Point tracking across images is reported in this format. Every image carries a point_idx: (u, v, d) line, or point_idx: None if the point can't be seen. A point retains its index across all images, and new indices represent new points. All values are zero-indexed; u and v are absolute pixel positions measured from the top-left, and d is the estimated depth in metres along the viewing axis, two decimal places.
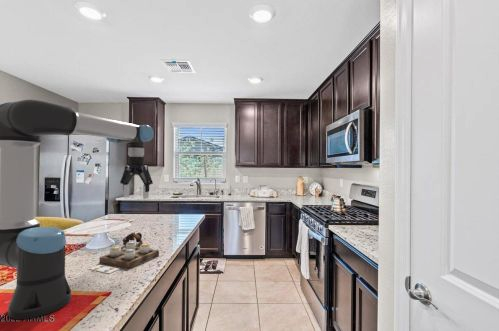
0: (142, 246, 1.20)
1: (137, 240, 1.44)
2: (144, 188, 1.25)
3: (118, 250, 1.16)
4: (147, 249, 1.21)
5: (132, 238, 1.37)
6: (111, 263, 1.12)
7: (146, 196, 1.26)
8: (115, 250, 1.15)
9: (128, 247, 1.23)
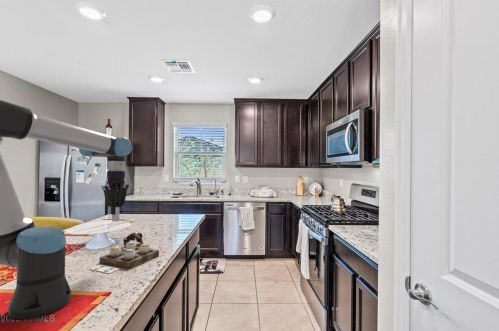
0: (142, 246, 1.20)
1: (138, 240, 1.44)
2: None
3: (118, 250, 1.16)
4: (147, 249, 1.21)
5: (133, 238, 1.37)
6: (111, 263, 1.12)
7: (114, 219, 1.17)
8: (115, 250, 1.15)
9: (128, 247, 1.23)
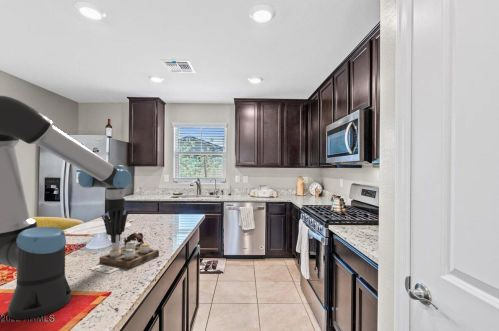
0: (142, 246, 1.20)
1: (138, 240, 1.44)
2: None
3: (118, 252, 1.16)
4: (147, 249, 1.21)
5: (134, 238, 1.36)
6: (111, 263, 1.12)
7: (114, 247, 1.17)
8: (115, 252, 1.15)
9: (128, 247, 1.23)
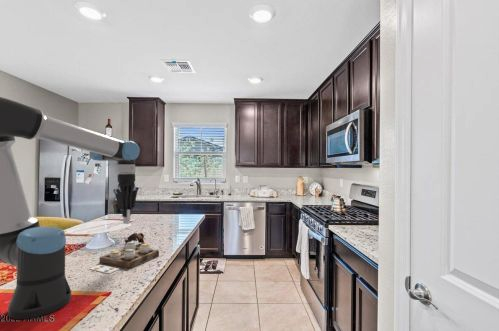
0: (142, 246, 1.20)
1: (139, 240, 1.43)
2: None
3: (118, 254, 1.16)
4: (147, 249, 1.21)
5: (135, 238, 1.36)
6: (111, 263, 1.12)
7: (125, 221, 1.19)
8: (115, 254, 1.15)
9: (128, 247, 1.23)
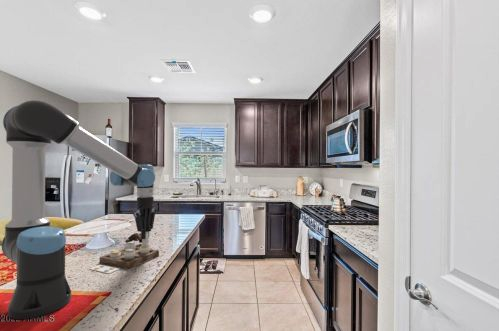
0: (142, 247, 1.20)
1: (140, 241, 1.43)
2: None
3: (118, 254, 1.16)
4: (147, 250, 1.21)
5: (135, 239, 1.36)
6: (111, 263, 1.12)
7: (144, 243, 1.21)
8: (115, 254, 1.15)
9: (128, 247, 1.23)
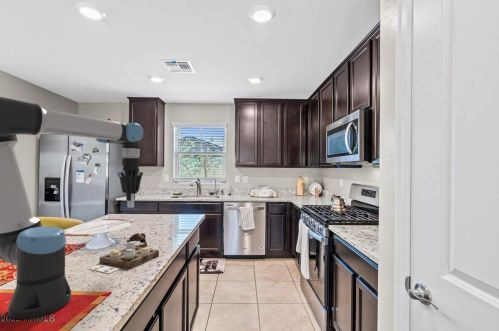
0: (142, 250, 1.20)
1: (141, 241, 1.43)
2: None
3: (118, 254, 1.16)
4: (147, 253, 1.21)
5: (137, 239, 1.35)
6: (111, 263, 1.12)
7: (129, 205, 1.19)
8: (115, 254, 1.15)
9: (128, 247, 1.23)
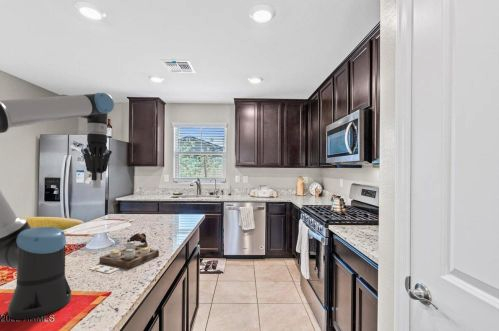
0: (142, 250, 1.20)
1: (141, 241, 1.43)
2: None
3: (118, 254, 1.16)
4: (147, 253, 1.21)
5: (137, 239, 1.35)
6: (111, 263, 1.12)
7: (95, 185, 1.10)
8: (115, 254, 1.15)
9: (128, 247, 1.23)
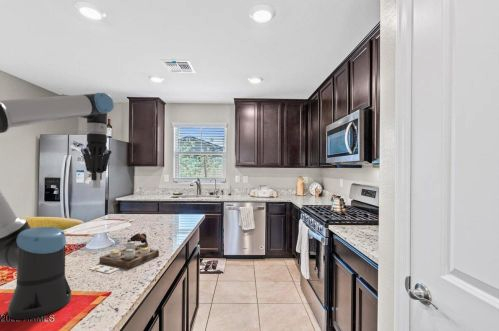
0: (142, 250, 1.20)
1: (142, 241, 1.42)
2: None
3: (118, 254, 1.16)
4: (147, 253, 1.21)
5: (138, 239, 1.35)
6: (111, 263, 1.12)
7: (94, 185, 1.10)
8: (115, 254, 1.15)
9: (128, 247, 1.23)
